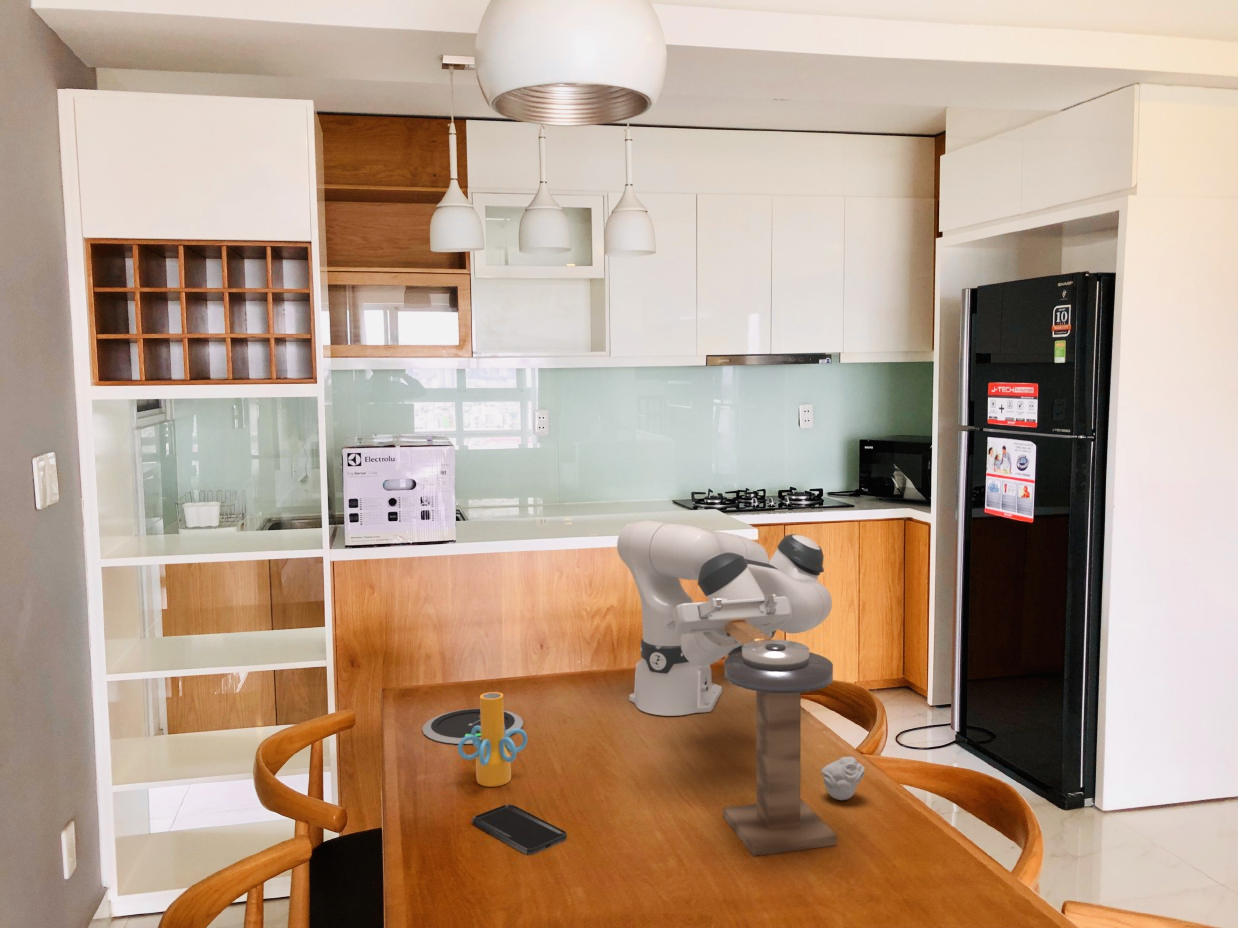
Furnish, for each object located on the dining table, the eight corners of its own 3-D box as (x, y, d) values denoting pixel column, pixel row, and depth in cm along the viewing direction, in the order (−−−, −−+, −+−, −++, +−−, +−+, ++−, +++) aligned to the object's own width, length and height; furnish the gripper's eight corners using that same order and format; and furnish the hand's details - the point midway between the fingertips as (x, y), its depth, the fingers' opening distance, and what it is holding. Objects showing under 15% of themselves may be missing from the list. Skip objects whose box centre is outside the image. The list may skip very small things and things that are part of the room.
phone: (509, 802, 154) (569, 833, 143) (509, 809, 154) (569, 840, 143) (468, 818, 149) (528, 850, 138) (469, 825, 149) (528, 858, 138)
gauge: (525, 742, 183) (525, 737, 183) (419, 749, 180) (419, 744, 180) (521, 707, 202) (521, 703, 202) (425, 713, 200) (425, 709, 199)
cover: (704, 632, 161) (704, 618, 161) (760, 628, 163) (760, 614, 163) (756, 673, 137) (756, 658, 137) (820, 668, 140) (820, 652, 139)
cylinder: (512, 797, 158) (509, 709, 156) (452, 792, 160) (450, 705, 158) (533, 768, 170) (531, 686, 168) (477, 764, 172) (475, 683, 170)
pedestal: (711, 813, 151) (710, 652, 148) (805, 802, 154) (805, 644, 152) (747, 862, 135) (747, 683, 133) (851, 848, 139) (852, 674, 137)
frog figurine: (863, 809, 151) (864, 766, 151) (818, 804, 154) (819, 762, 153) (865, 793, 157) (865, 752, 157) (822, 788, 159) (822, 748, 159)
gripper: (661, 611, 166) (681, 586, 154) (771, 603, 171) (798, 578, 159) (666, 646, 164) (687, 623, 152) (778, 637, 168) (806, 615, 156)
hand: (745, 600), depth 155 cm, fingers open, 8 cm apart
